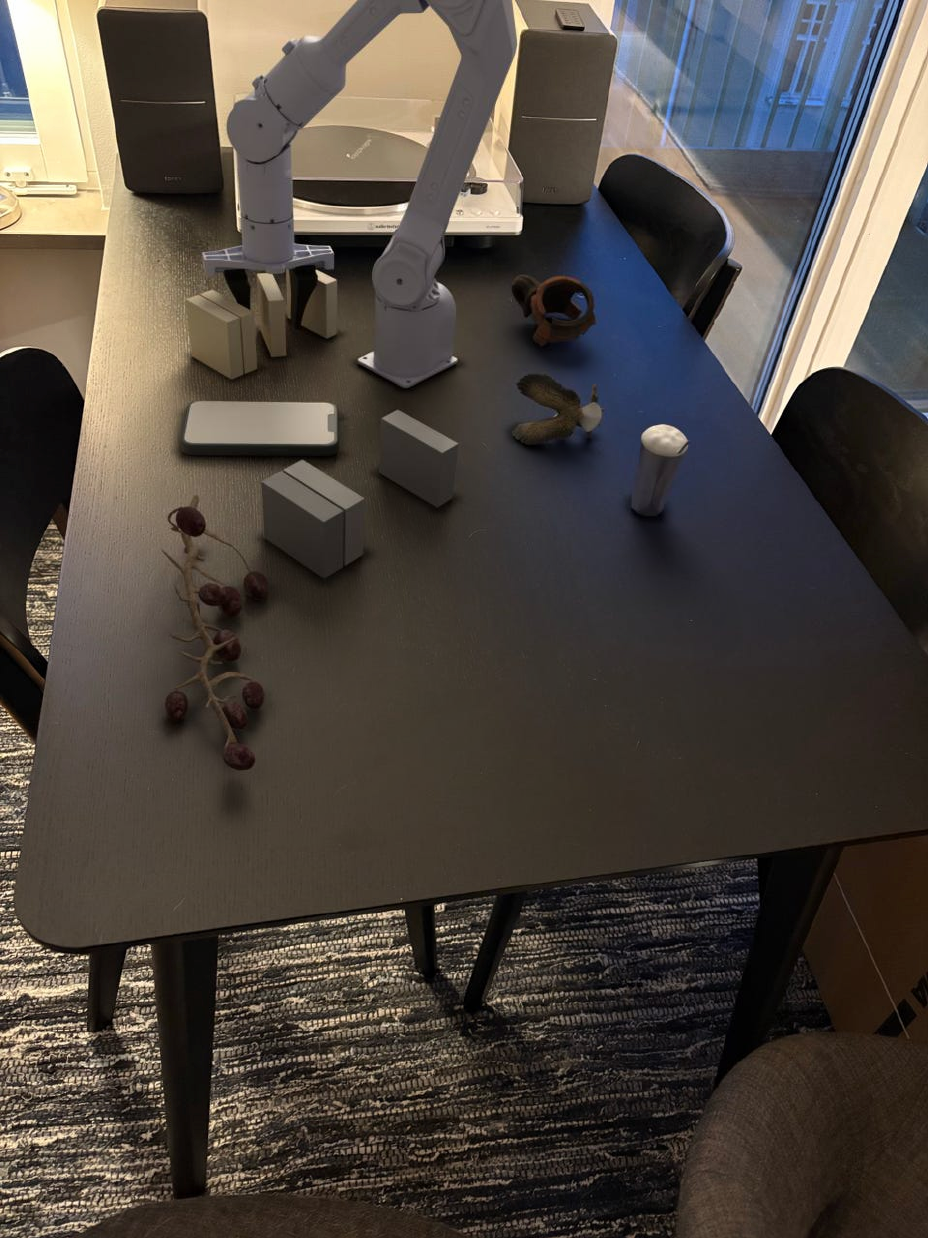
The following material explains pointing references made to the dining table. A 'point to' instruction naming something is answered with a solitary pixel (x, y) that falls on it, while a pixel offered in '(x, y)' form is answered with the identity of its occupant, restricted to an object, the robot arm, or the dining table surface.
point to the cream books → (249, 326)
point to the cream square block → (271, 314)
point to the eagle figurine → (561, 401)
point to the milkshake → (657, 468)
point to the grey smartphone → (260, 428)
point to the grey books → (352, 495)
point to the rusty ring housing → (554, 306)
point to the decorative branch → (215, 637)
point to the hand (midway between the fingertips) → (272, 328)
